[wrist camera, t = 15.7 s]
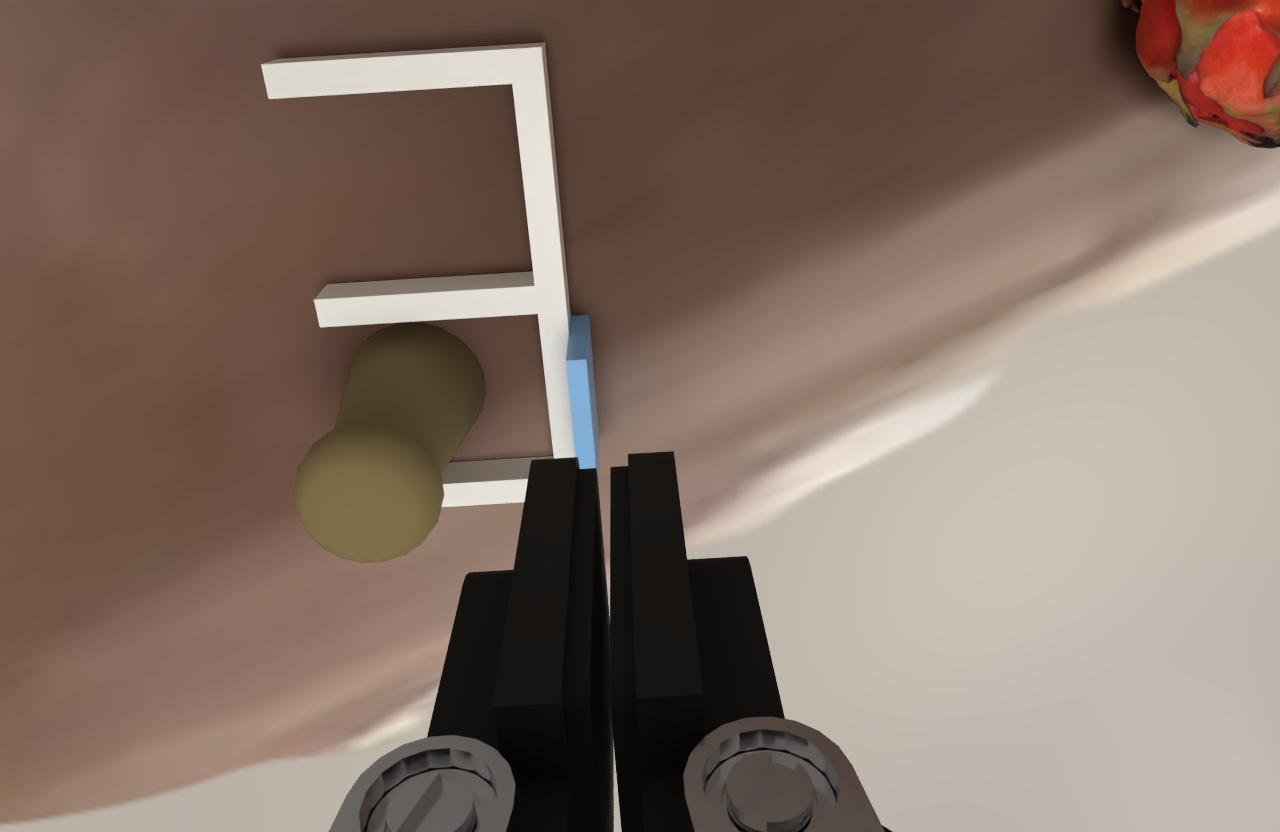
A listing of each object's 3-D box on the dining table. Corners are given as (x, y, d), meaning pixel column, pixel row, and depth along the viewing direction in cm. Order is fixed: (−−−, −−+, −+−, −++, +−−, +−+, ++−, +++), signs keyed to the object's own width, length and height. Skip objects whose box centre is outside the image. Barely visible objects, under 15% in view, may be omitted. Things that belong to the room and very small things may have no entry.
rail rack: (278, 59, 35) (230, 74, 31) (565, 41, 35) (559, 53, 31) (371, 489, 44) (344, 550, 39) (602, 475, 44) (601, 534, 39)
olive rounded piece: (349, 436, 43) (271, 581, 33) (350, 314, 40) (265, 431, 30) (481, 451, 43) (442, 597, 33) (490, 331, 41) (451, 451, 31)
